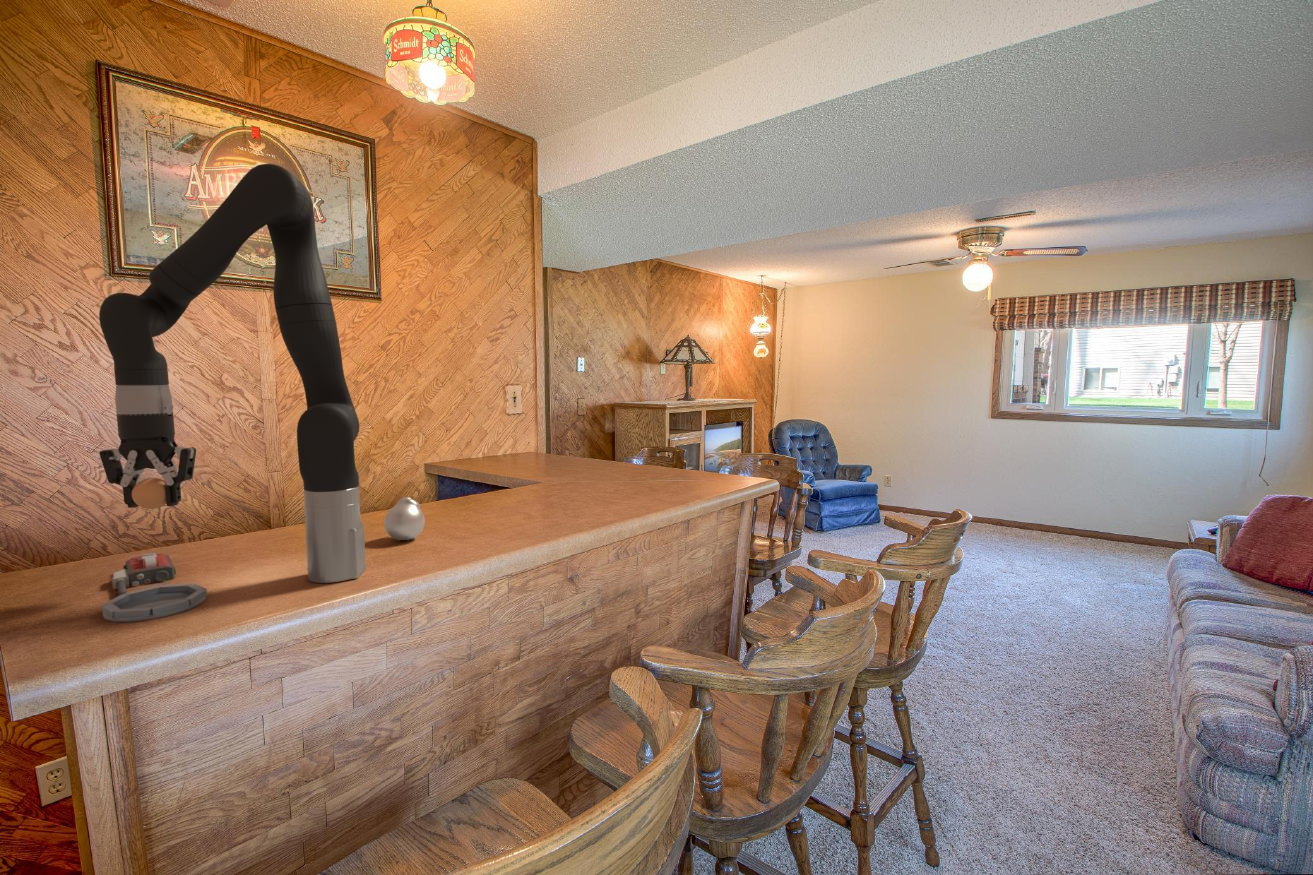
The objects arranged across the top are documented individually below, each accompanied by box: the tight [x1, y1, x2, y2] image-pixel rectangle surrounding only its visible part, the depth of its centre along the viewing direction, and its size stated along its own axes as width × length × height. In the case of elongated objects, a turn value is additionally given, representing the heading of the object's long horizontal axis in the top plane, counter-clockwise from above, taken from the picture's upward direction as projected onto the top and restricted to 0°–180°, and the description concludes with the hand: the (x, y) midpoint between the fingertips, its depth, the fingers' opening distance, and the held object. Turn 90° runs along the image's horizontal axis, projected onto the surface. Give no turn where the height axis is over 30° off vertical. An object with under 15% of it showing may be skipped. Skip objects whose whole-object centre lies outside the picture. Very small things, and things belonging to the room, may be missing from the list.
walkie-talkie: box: [111, 552, 177, 596], centre depth 109 cm, size 9×4×20 cm
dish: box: [101, 582, 208, 623], centre depth 97 cm, size 13×13×2 cm
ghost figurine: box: [383, 496, 426, 541], centre depth 139 cm, size 9×10×10 cm
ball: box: [132, 477, 168, 510], centre depth 104 cm, size 6×6×6 cm
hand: (153, 505), depth 104 cm, fingers closed on ball, 5 cm apart
